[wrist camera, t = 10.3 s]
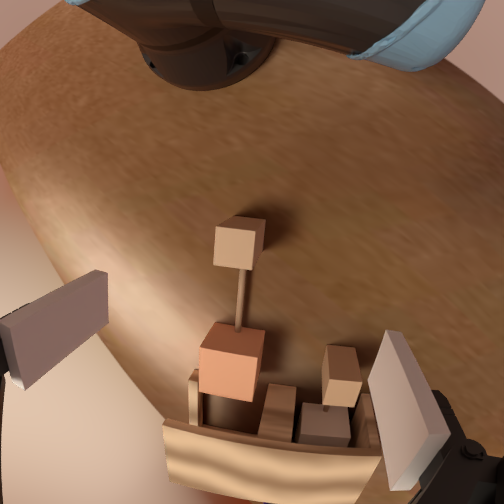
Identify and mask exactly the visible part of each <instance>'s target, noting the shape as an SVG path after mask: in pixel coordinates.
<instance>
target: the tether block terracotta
mask: <svg viewBox="0 0 504 504" xmlns="http://www.w3.org/2000/svg"><path fill="white" fill-rule="evenodd" d="M265 222H266V219H257V218H249V217H240V216H233V217H231V218H229V219H228V220H226V221H224V222H223V223H221V224H219V225H218V226H216V233H215V248H214V264H213V265H218V266H225V267H232V268H239V269H240V272H239V284H238V296H237V308H236V320H235V326H233V325H227V324H221V323H216V322H215V323H214V325H213V326H212V328H211V329H210V331H209V333H208V334H207V336H206V337H205V339H204V341H203V342H202V344H201V346H200V347H199V392H203V393H207V394H212V395H217V396H222V397H227V398H232V399H237V400H243V401H248V402H252V400H253V397H254V393H255V389H256V385H257V381H258V378H259V374H260V368H261V360H262V353H263V345H264V337H265V331H264V330H258V329H251V328H245V327H241V324H242V313H243V302H244V291H245V280H246V270H252V269H253V267H254V265H255V264H256V262H257V260H258V258H259V256H260V255H261V253H262V251H263V242H264V232H265Z"/></svg>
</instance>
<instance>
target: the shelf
mask: <svg viewBox="0 0 504 504" xmlns="http://www.w3.org/2000/svg"><path fill="white" fill-rule="evenodd" d="M188 390H189V424H187V423H183V422H179V421H175V420H172V419H168V418H166V419H165V421H164V423H163V424H162V427H163V437H164V445H165V453H166V459H167V467H168V474H169V480H170V482H173V483H177V484H180V485H184V486H188V487H191V488H195V489H199V490H204V491H208V492H212V493H216V494H221V495H226V496H231V497H236V498H241V499H247V500H253V501H260V502H266V503H274V504H354V503H355V501H356V500H357V498H358V497H359V495H360V494H361V492H362V490H363V489H364V487H365V485H366V484H367V482H368V480H369V479H370V477H371V475H372V474H373V472H374V470H375V468H376V466H377V465H378V463H379V461H380V459H381V457H382V453H381V448H380V443H379V437H378V432H377V427H376V422H375V417H374V412H373V408H372V403H371V398H370V394H366V393H361V396H360V399H359V402H358V405H357V407H356V410H355V413H354V416H353V418H352V421H351V424H350V435H351V438H350V441H349V443H348V446H347V448H345V447H329V446H317V445H306V444H297V443H294V440H292V429H293V419H294V409H295V398H296V387H293V386H286V385H279V384H272V383H269V385H268V390H267V394H266V399H265V404H264V408H263V413H262V417H261V422H260V426H259V431H258V435H256V434H250V433H245V432H239V431H234V430H229V429H224V428H219V427H214V426H210V425H205V424H203V392H199V370H195V369H194V371H193V373H192V375H191V376H190V378H189V380H188Z"/></svg>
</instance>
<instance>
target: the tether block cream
mask: <svg viewBox="0 0 504 504" xmlns="http://www.w3.org/2000/svg"><path fill="white" fill-rule="evenodd" d="M361 385H362V377H361V372H360V368H359V363H358V359H357V354H356V350H355V348H354V347H344V346H335V345H327V347H326V351H325V356H324V360H323V364H322V403H323V405H322V404H313V403H304V402H303V404H302V408H301V412H300V416H299V420H298V424H297V428H296V431H295V439H294V443H297V444H306V445H317V446H329V447H345V448H347V446H348V443H349V441H350V438H351V435H350V425H349V416H348V407H354V406H355V403H356V400H357V397H358V394H359V391H360V388H361Z"/></svg>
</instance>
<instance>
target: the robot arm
mask: <svg viewBox="0 0 504 504" xmlns="http://www.w3.org/2000/svg"><path fill="white" fill-rule="evenodd" d="M65 1H66V2H67V3H69V4H71V5H76V6H78V7H80V8H82V9H83V10H85V11H87V12H89V13H90V14H92V15H94V16H96V17H97V18H99V19H101V20H102V21H104V22H106V23H107V24H109V25H111V26H112V27H114V28H116V29H117V30H119V31H120V32H122V33H124V34H125V35H127V36H128V37H130V38H132V39H133V40H135V41H136V42H137V44H138V46H139V48H140V51H141V53H142V55H143V58H144V60H145V62H146V63H147V65H148V66H149V68H150V69H151V70H152V71H153V72H154V73H155V74H156V75H158V76H159V77H160V78H162V79H164V80H165V81H167V82H169V83H170V84H172V85H174V86H177V87H179V88H182V89H186V90H193V91H208V90H215V89H219V88H223V87H226V86H229V85H232V84H234V83H236V82H238V81H240V80H242V79H244V78H245V77H247V76H248V75H250V74H251V73H252V72H253V71H255V70H256V69H257V68H258V67H259V66H260V65H261V64H262V63H263V62H264V60H265V59H266V58H267V56H268V55H269V53H270V51H271V49H272V47H273V45H274V42H275V39H276V37H279V38H283V39H288V40H293V41H297V42H301V43H305V44H309V45H313V46H317V47H321V48H324V49H328V50H332V51H335V52H338V53H342V54H345V55H346V56H347V57H348V58H350V59H354V60H362V59H365V60H368V61H372V62H375V63H378V64H381V65H385V66H388V67H391V68H394V69H397V70H400V71H406V72H415V71H419V70H423V69H426V68H427V67H430V66H433V65H434V64H436V63H438V62H440V61H441V60H442V59H443V58H445V57H446V56H447V55H448V54H449V53H450V52H451V51H452V50H453V49H454V48H455V47H456V46H457V45H458V44H459V42H460V41H461V40H462V39H463V38H464V36H465V35H466V34H467V32H468V31H469V29H470V28H471V26H472V25H473V23H474V22H475V20H476V18H477V16H478V15H479V12H480V11H481V8H482V7H483V4H484V2H485V0H65ZM108 323H109V320H108V273H106V272H103V271H99V270H94V271H92V272H90V273H88V274H86V275H84V276H82V277H80V278H78V279H76V280H74V281H72V282H70V283H68V284H66V285H64V286H62V287H60V288H58V289H56V290H54V291H52V292H50V293H48V294H46V295H45V296H43V297H41V298H39V299H37V300H35V301H33V302H31V303H28V304H26V305H24V306H22V307H20V308H19V309H16V310H14V311H13V312H12V313H9V314H7V315H5V316H3V317H2V318H0V504H3V496H2V481H1V431H2V414H3V402H4V392H5V377H4V374H5V373H6V372H8V371H9V372H10V376H11V379H12V382H13V383H14V384H15V385H17V386H18V387H20V388H22V389H23V390H26V389H27V388H29V387H30V386H31V385H32V384H33V383H35V382H36V381H37V380H38V379H40V378H41V377H42V376H43V375H45V374H46V373H47V372H48V371H49V370H51V369H52V368H53V367H54V366H55V365H57V364H58V363H59V362H60V361H62V360H63V359H64V358H65V357H67V356H68V355H69V354H70V353H71V352H72V351H74V350H75V349H76V348H78V347H79V346H80V345H81V344H83V343H84V342H85V341H86V340H88V339H89V338H90V337H91V336H93V335H94V334H95V333H96V332H98V331H99V330H100V329H101V328H103V327H104V326H105V325H106V324H108ZM368 384H369V388H370V392H371V397H372V401H373V405H374V410H375V414H376V419H377V424H378V428H379V433H380V438H381V443H382V448H383V453H384V459H385V464H386V470H387V475H388V481H389V487H390V491H394V490H411V489H412V487H413V486H414V485H415V484H416V482H417V481H418V480H419V482H420V486H421V489H420V490H419V491H418V492H417V494H416V495H415V496H414V497H413V498H412V499H411V501H410V502H409V503H408V504H504V456H503V458H499V457H493V456H488V455H487V453H486V451H485V449H484V448H483V446H482V445H481V444H479V443H478V442H476V441H474V440H471V439H467V438H466V436H465V434H464V432H463V430H462V428H461V426H460V424H459V422H458V420H457V418H456V416H455V413H454V411H453V409H451V406H450V404H449V402H448V400H447V398H446V397H445V396H444V395H443V394H442V393H441V392H440V391H439V390H431V389H430V387H429V385H428V383H427V381H426V379H425V377H424V375H423V373H422V371H421V369H420V367H419V365H418V363H417V361H416V359H415V357H414V355H413V353H412V351H411V349H410V347H409V346H408V344H407V342H406V340H405V338H404V336H403V334H402V332H397V331H391V330H386V331H385V334H384V337H383V340H382V343H381V346H380V349H379V351H378V354H377V357H376V360H375V362H374V365H373V368H372V370H371V373H370V375H369V378H368Z"/></svg>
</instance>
